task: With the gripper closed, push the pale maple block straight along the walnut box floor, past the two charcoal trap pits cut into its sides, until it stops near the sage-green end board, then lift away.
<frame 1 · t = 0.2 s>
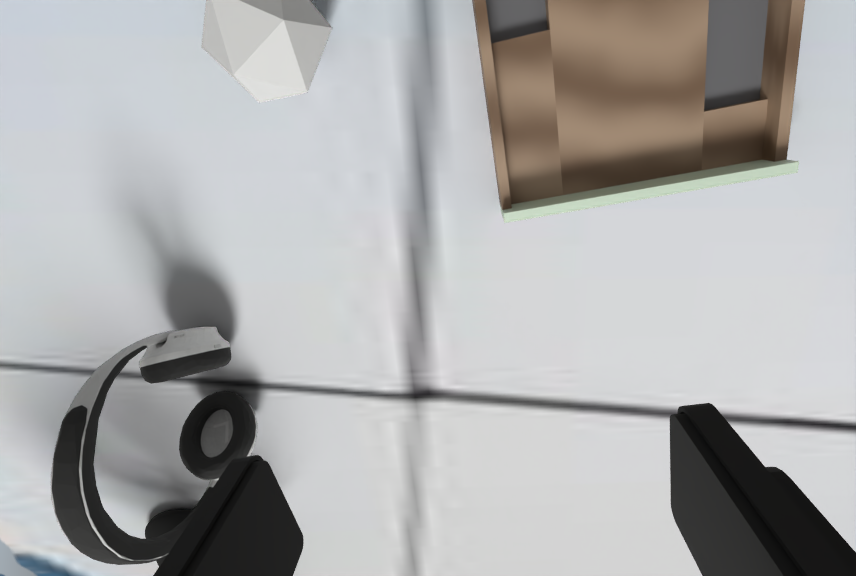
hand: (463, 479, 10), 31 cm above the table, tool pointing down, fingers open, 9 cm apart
desk fan: (222, 539, 60), on the table
headphones: (227, 373, 48), on the table
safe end: (625, 185, 36), on the table
die: (288, 45, 34), on the table
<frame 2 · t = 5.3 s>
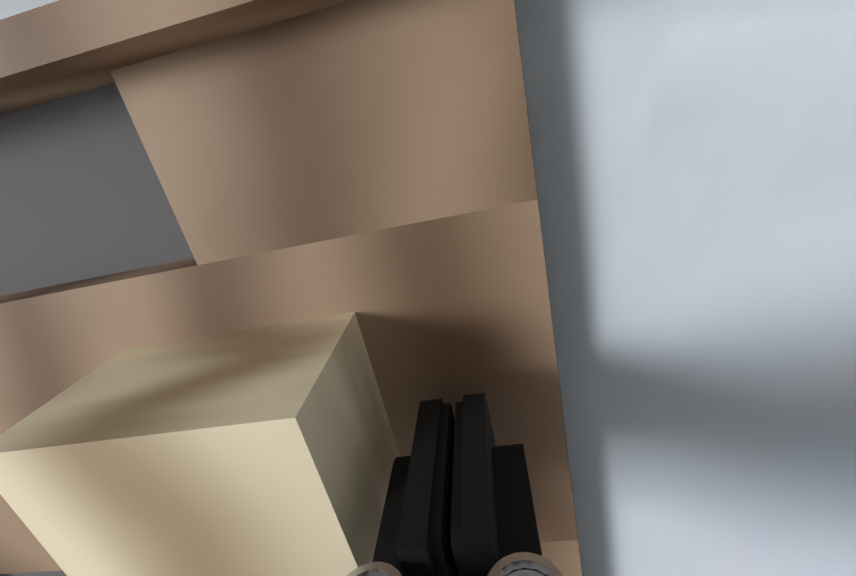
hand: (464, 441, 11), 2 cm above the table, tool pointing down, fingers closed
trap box: (97, 431, 15), on the table
block: (277, 431, 13), point 1 cm above the table, touching gripper, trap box
trap pits: (97, 431, 15), on the table
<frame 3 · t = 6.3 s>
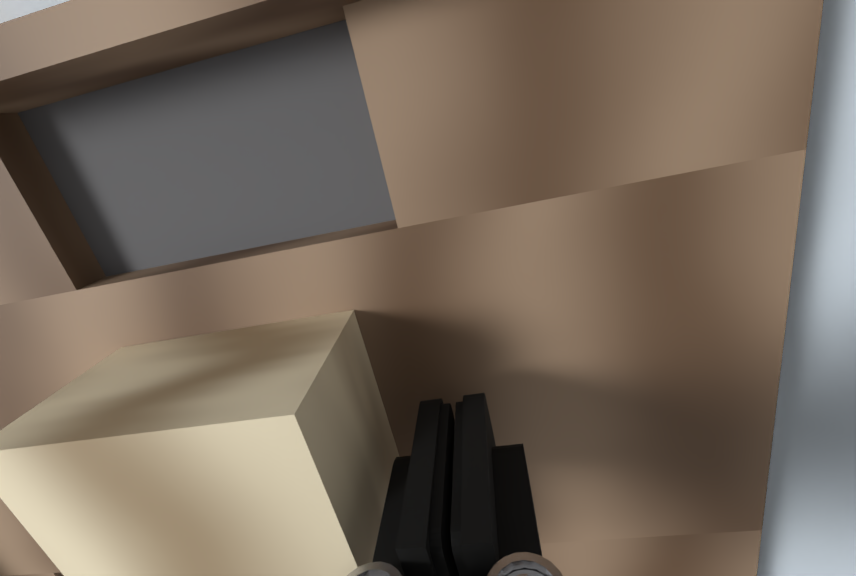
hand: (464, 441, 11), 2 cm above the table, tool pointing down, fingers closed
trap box: (229, 416, 14), on the table
block: (276, 430, 13), point 1 cm above the table, touching gripper
trap pits: (229, 416, 14), on the table
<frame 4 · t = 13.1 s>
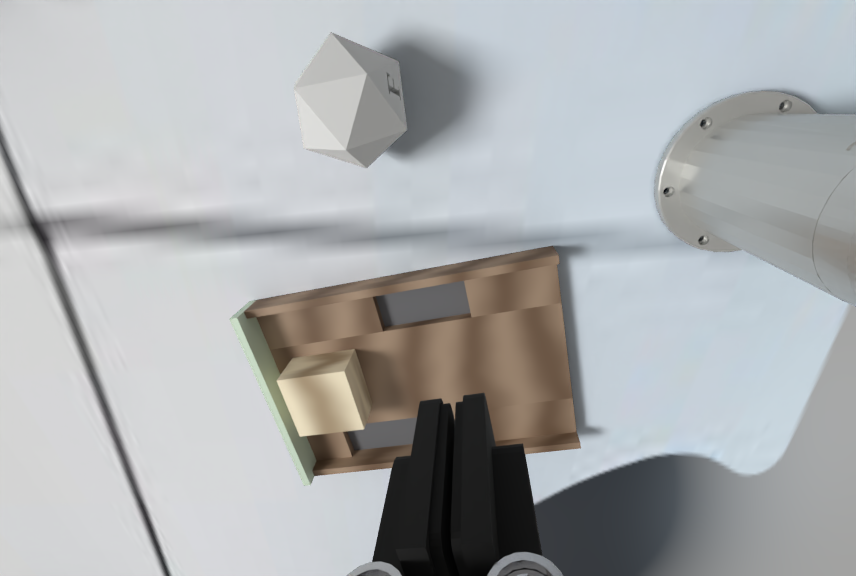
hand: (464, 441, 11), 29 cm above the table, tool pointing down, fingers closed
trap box: (411, 368, 45), on the table
block: (333, 381, 45), point 1 cm above the table, touching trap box
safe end: (288, 386, 47), on the table
trap pits: (411, 368, 45), on the table
die: (362, 106, 35), on the table
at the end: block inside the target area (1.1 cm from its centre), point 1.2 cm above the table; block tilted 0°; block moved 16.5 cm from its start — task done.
